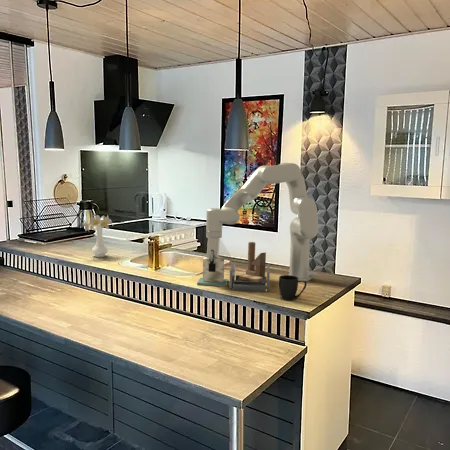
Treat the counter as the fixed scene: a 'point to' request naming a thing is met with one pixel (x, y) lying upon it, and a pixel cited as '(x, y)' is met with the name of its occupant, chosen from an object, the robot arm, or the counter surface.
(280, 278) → the mug
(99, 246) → the flower vase
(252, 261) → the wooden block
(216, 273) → the birch sheet
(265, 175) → the robot arm
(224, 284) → the mat
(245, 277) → the offcut stack
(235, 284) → the rack
